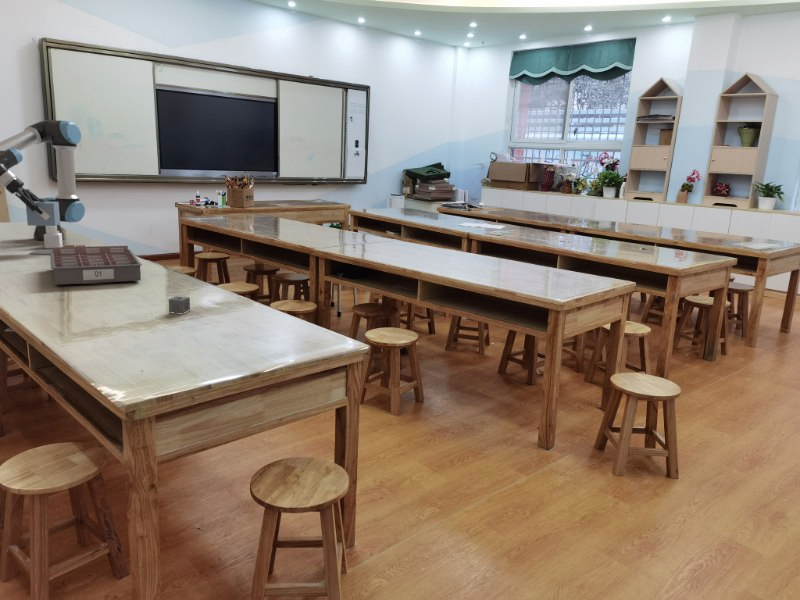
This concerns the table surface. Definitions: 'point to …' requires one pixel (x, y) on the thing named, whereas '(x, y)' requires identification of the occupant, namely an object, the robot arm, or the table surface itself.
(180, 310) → the dice cube
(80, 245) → the cube
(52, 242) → the medicine bottle
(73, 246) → the cube
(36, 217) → the cover
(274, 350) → the table surface
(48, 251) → the mat
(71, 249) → the organizer tray
